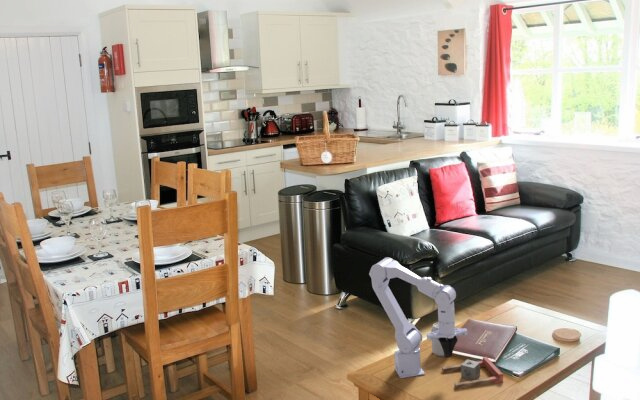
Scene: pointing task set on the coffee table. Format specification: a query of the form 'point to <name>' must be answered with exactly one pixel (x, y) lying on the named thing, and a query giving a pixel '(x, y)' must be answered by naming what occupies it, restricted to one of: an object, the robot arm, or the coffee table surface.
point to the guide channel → (491, 368)
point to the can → (436, 342)
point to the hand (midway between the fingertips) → (448, 355)
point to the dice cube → (470, 369)
